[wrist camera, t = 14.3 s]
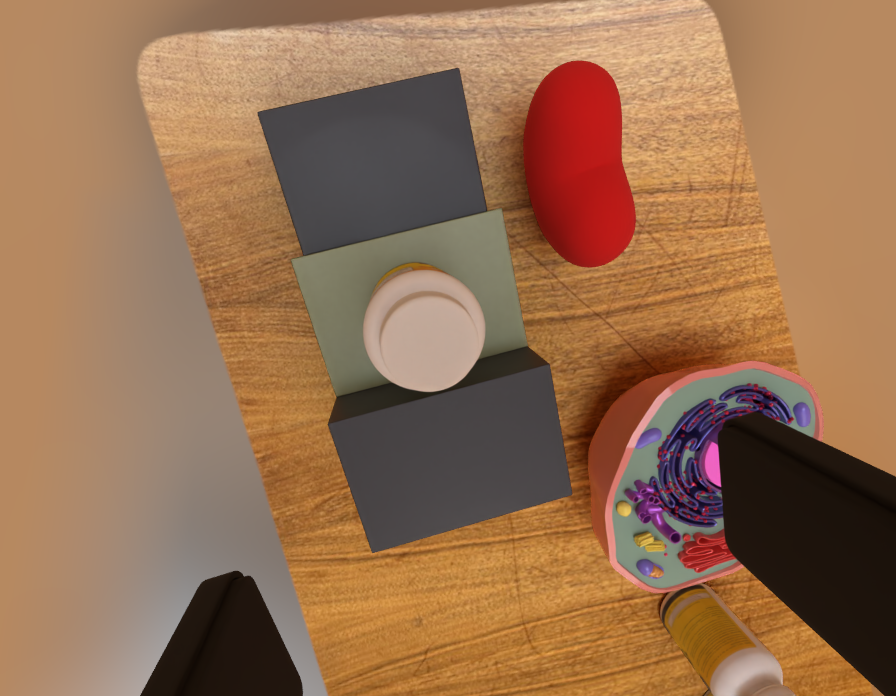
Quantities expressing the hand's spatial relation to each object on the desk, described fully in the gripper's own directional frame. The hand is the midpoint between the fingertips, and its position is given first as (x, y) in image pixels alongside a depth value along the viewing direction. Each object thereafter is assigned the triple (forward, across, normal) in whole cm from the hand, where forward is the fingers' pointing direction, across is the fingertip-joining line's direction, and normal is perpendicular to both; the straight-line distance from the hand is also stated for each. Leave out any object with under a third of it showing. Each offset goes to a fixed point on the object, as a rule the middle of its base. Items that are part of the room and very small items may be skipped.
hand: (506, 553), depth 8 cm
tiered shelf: (+27, 0, -2) cm, 27 cm away
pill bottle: (+27, -20, +38) cm, 50 cm away
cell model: (+27, -18, +17) cm, 36 cm away
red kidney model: (+27, -12, -7) cm, 30 cm away
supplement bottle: (+20, 0, -2) cm, 20 cm away
